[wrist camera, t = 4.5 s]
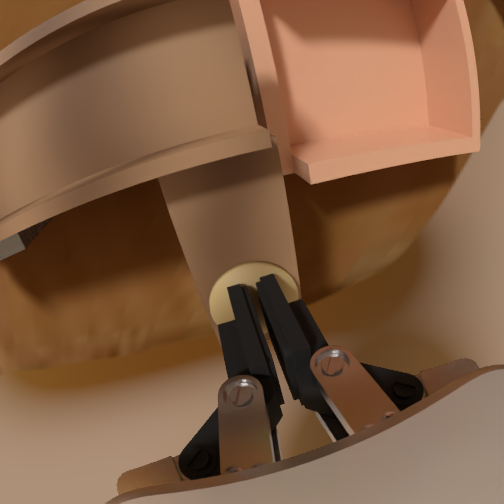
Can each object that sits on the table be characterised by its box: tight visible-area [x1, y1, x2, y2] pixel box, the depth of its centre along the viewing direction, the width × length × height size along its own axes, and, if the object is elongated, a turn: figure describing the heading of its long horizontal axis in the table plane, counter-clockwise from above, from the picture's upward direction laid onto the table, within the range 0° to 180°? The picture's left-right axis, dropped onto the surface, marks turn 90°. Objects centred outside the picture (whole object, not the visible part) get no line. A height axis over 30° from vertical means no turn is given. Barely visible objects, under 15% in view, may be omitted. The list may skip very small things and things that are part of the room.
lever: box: [0, 0, 302, 347], centre depth 9 cm, size 22×15×4 cm, turn 102°
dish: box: [229, 0, 480, 185], centre depth 13 cm, size 14×12×5 cm
